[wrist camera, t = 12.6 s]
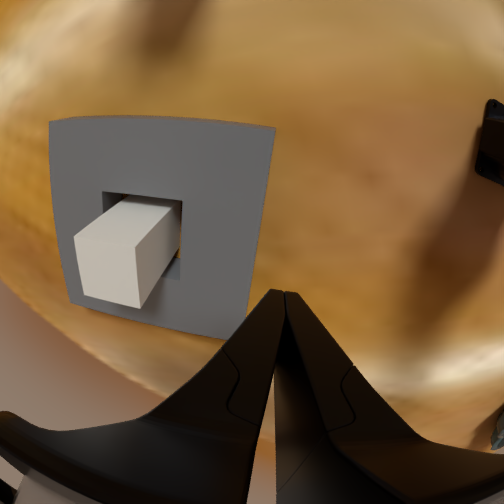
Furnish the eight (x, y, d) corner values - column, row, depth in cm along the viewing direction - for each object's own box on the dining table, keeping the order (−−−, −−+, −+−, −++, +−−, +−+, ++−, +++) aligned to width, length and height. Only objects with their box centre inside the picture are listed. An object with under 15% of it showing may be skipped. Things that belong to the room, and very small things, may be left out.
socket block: (275, 127, 18) (275, 131, 16) (245, 318, 26) (241, 342, 23) (72, 117, 19) (49, 121, 16) (85, 285, 26) (70, 302, 24)
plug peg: (181, 198, 21) (135, 247, 14) (179, 246, 23) (140, 308, 16) (132, 192, 21) (73, 236, 14) (134, 239, 23) (84, 294, 16)
